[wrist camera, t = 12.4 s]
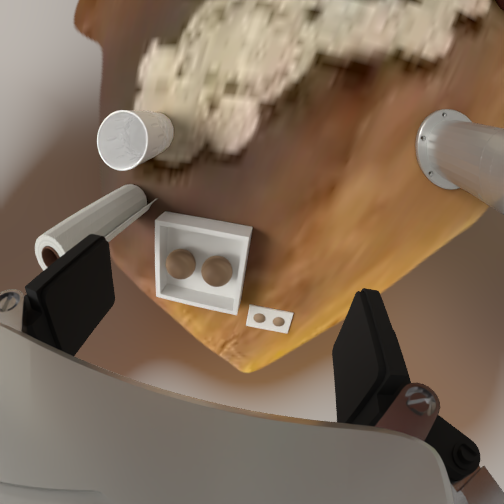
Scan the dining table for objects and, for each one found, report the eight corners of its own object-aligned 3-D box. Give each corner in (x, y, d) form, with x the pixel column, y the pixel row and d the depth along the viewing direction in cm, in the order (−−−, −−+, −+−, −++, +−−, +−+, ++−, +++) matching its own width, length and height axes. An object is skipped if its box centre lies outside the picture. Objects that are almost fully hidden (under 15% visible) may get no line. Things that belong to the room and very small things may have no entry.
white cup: (159, 98, 39) (125, 97, 30) (187, 136, 41) (159, 145, 32) (124, 130, 41) (87, 138, 33) (151, 166, 44) (118, 182, 35)
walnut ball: (200, 247, 48) (190, 261, 44) (199, 272, 51) (189, 288, 46) (173, 240, 49) (160, 254, 44) (172, 266, 51) (160, 281, 47)
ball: (236, 253, 48) (230, 268, 44) (233, 279, 50) (227, 295, 46) (207, 247, 48) (198, 262, 44) (204, 273, 51) (196, 289, 46)
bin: (252, 226, 46) (249, 237, 43) (240, 301, 53) (236, 315, 50) (165, 211, 47) (155, 219, 43) (164, 284, 54) (156, 296, 50)
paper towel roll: (113, 206, 48) (32, 264, 29) (124, 177, 45) (35, 226, 26) (146, 226, 49) (73, 296, 30) (159, 197, 46) (80, 259, 27)
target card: (293, 312, 53) (293, 313, 52) (287, 332, 55) (287, 333, 55) (249, 304, 53) (249, 305, 53) (246, 324, 55) (245, 325, 55)
